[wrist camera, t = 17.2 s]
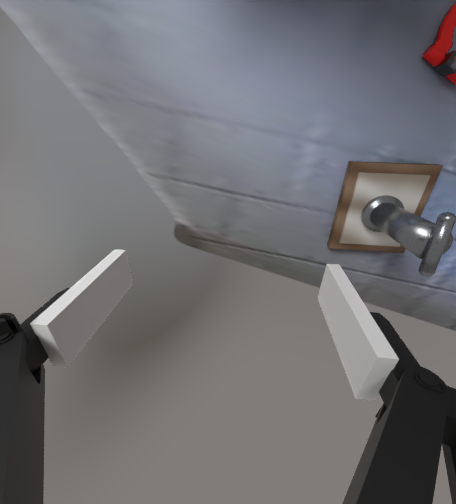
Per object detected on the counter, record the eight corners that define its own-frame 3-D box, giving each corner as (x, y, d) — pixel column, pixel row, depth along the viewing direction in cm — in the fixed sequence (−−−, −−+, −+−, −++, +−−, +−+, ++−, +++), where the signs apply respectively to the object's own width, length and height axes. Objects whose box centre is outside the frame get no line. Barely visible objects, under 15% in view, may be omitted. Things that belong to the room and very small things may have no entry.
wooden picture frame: (348, 161, 39) (353, 162, 37) (436, 164, 38) (445, 166, 36) (327, 244, 46) (330, 249, 45) (399, 249, 45) (404, 254, 44)
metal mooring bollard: (366, 189, 39) (423, 215, 26) (407, 187, 38) (486, 213, 25) (356, 236, 42) (402, 278, 30) (393, 235, 42) (456, 278, 29)
